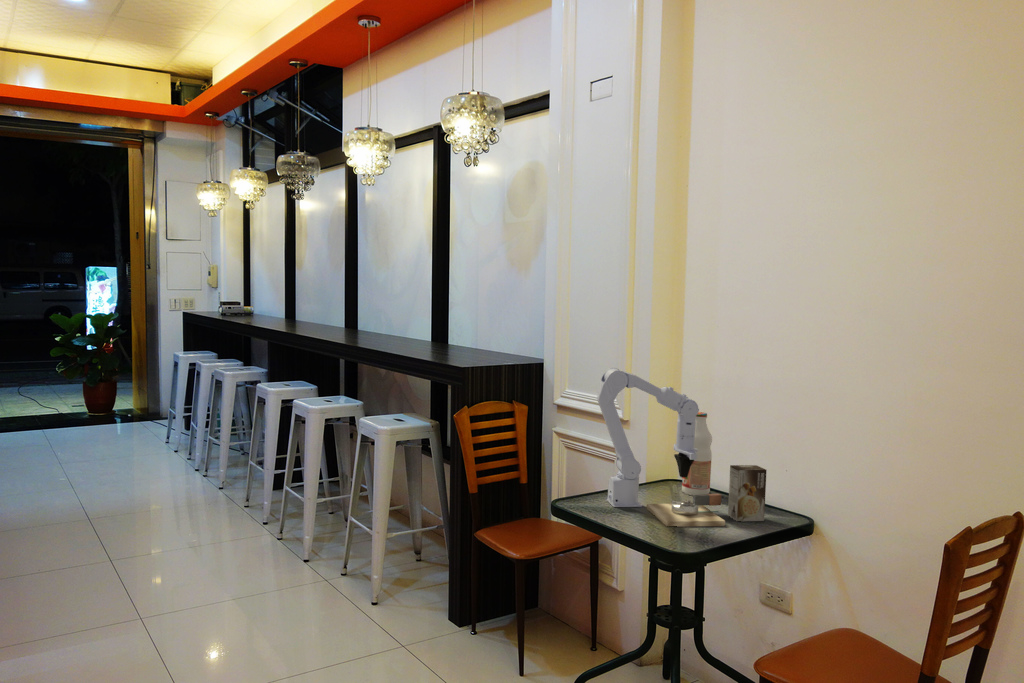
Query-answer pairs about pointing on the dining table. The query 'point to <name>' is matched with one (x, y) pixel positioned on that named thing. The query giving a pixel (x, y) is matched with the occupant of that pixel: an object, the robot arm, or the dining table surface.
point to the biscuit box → (747, 493)
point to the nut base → (685, 516)
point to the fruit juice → (700, 460)
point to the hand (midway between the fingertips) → (683, 476)
